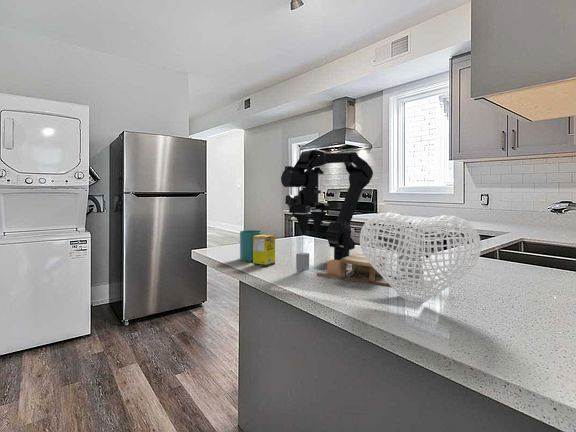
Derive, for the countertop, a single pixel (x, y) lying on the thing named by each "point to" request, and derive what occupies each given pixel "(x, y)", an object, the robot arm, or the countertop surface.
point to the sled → (303, 264)
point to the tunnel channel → (358, 270)
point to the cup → (247, 244)
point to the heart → (415, 224)
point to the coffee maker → (413, 251)
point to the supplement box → (264, 250)
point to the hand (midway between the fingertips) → (309, 232)
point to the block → (334, 267)
